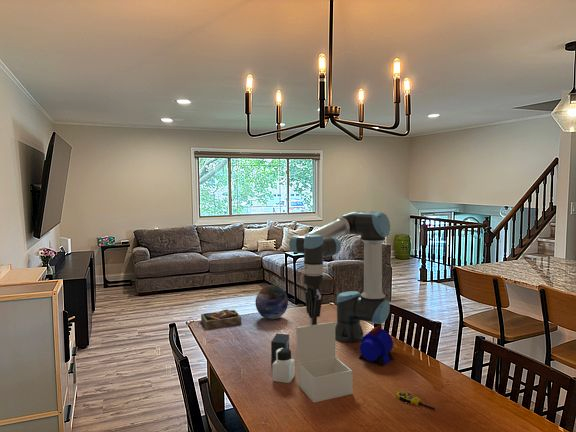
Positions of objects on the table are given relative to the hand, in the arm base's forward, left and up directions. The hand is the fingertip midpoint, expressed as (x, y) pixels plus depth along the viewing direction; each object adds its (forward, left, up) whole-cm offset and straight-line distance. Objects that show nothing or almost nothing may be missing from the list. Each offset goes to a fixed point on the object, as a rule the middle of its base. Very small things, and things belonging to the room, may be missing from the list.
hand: (313, 332), depth 168 cm
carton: (0, +9, -19) cm, 21 cm away
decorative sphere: (-10, -80, -20) cm, 83 cm away
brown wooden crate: (+18, -86, -20) cm, 90 cm away
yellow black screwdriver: (-26, +31, -20) cm, 45 cm away
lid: (0, +2, -3) cm, 4 cm away
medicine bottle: (+11, -6, -20) cm, 23 cm away
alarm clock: (-34, -7, -20) cm, 39 cm away
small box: (+6, -23, -20) cm, 31 cm away
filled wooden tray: (+19, -86, -19) cm, 90 cm away
